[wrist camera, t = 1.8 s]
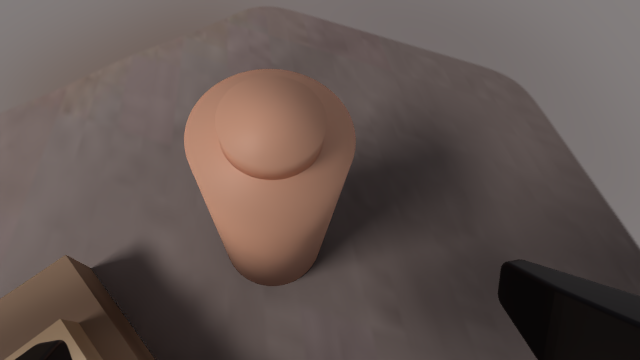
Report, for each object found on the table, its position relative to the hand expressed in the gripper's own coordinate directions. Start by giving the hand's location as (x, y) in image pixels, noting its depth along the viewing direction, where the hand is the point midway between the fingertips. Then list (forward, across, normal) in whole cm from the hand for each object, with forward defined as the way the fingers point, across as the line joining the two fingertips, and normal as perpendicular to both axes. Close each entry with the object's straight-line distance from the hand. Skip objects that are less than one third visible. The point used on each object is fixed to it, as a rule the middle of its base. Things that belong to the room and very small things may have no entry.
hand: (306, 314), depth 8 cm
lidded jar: (+12, 0, +5) cm, 13 cm away
